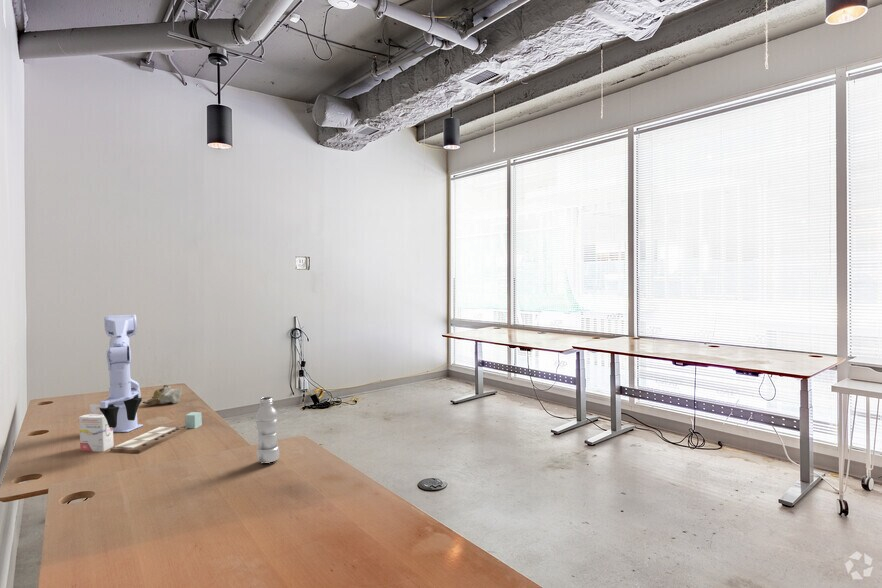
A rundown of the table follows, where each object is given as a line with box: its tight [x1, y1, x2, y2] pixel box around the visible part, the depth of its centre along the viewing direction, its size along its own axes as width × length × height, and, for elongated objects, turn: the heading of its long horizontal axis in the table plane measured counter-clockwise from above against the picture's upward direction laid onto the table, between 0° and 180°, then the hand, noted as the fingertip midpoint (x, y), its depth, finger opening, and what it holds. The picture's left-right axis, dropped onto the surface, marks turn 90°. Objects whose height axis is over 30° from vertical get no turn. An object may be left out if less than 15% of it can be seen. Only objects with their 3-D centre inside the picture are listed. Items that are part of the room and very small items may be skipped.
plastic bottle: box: [255, 396, 280, 463], centre depth 151 cm, size 6×7×20 cm
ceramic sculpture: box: [141, 384, 182, 406], centre depth 221 cm, size 11×9×15 cm
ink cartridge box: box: [78, 403, 115, 453], centre depth 164 cm, size 9×5×15 cm, turn 84°
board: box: [109, 425, 188, 454], centre depth 173 cm, size 11×23×1 cm, turn 170°
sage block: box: [184, 411, 203, 429], centre depth 188 cm, size 4×4×5 cm
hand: (122, 423), depth 162 cm, fingers open, 7 cm apart
